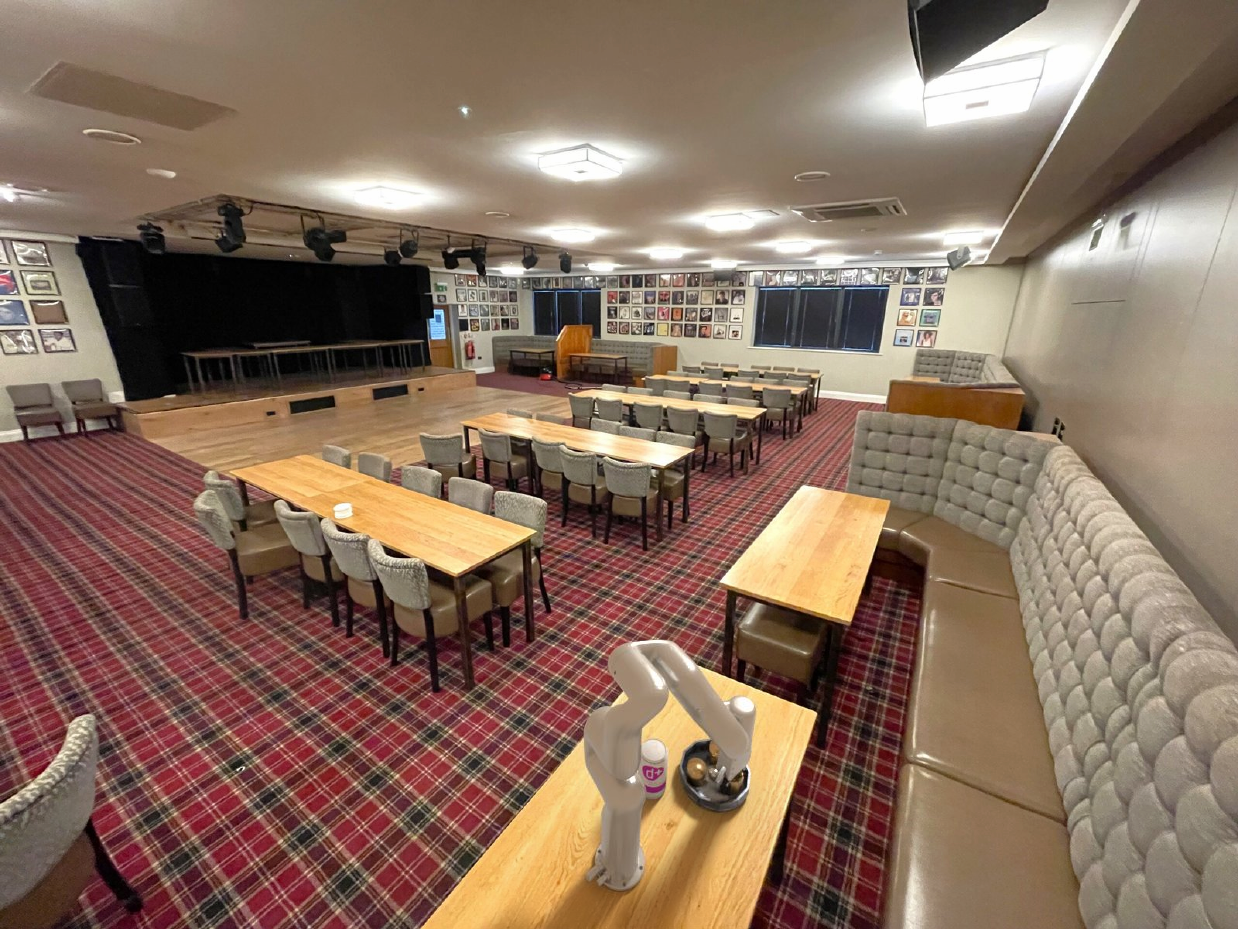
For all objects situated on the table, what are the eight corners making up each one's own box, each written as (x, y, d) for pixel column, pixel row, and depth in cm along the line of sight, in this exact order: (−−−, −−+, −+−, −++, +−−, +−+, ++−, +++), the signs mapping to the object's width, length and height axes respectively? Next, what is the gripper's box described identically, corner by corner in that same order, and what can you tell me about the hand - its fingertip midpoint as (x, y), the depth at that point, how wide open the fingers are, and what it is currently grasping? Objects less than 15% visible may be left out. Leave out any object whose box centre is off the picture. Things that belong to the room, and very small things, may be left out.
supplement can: (664, 803, 139) (666, 765, 133) (635, 797, 140) (636, 759, 135) (667, 776, 146) (670, 739, 141) (639, 771, 147) (641, 734, 142)
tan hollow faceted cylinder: (718, 784, 141) (719, 772, 139) (729, 773, 144) (731, 760, 142) (733, 799, 137) (735, 786, 135) (745, 786, 141) (747, 774, 139)
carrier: (719, 827, 133) (721, 812, 130) (666, 774, 147) (667, 759, 144) (762, 782, 145) (765, 766, 143) (709, 736, 159) (710, 722, 157)
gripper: (745, 712, 142) (738, 757, 149) (706, 747, 132) (701, 794, 138) (767, 729, 137) (760, 775, 143) (729, 767, 126) (723, 815, 133)
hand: (731, 784), depth 141 cm, fingers closed on tan hollow faceted cylinder, 5 cm apart
